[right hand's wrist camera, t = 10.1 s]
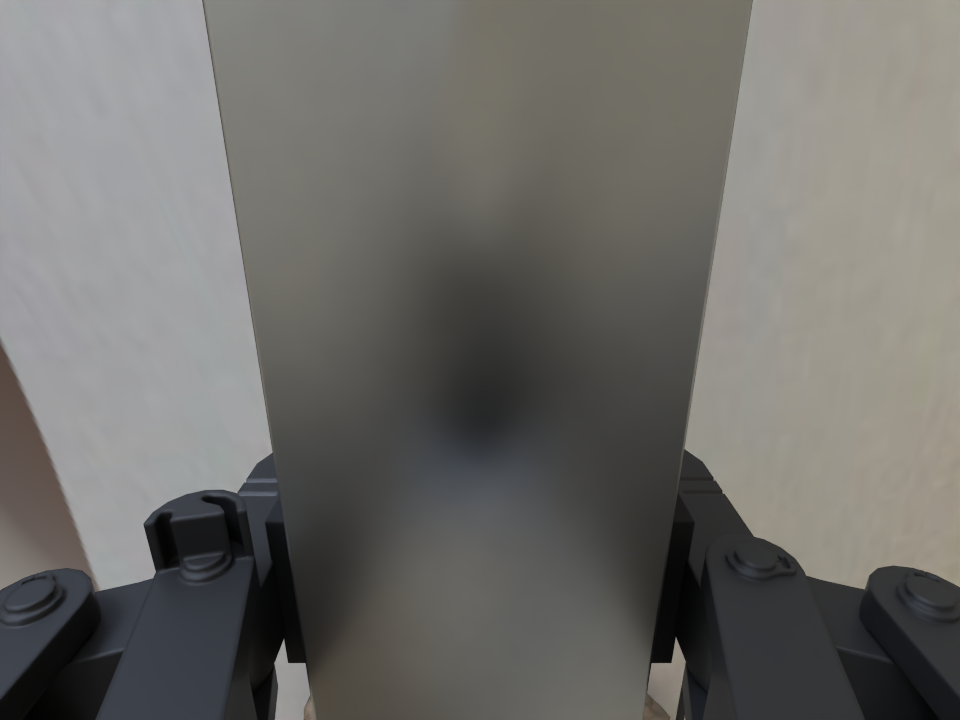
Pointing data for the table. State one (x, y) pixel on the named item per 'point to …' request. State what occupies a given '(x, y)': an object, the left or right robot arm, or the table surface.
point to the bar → (478, 329)
